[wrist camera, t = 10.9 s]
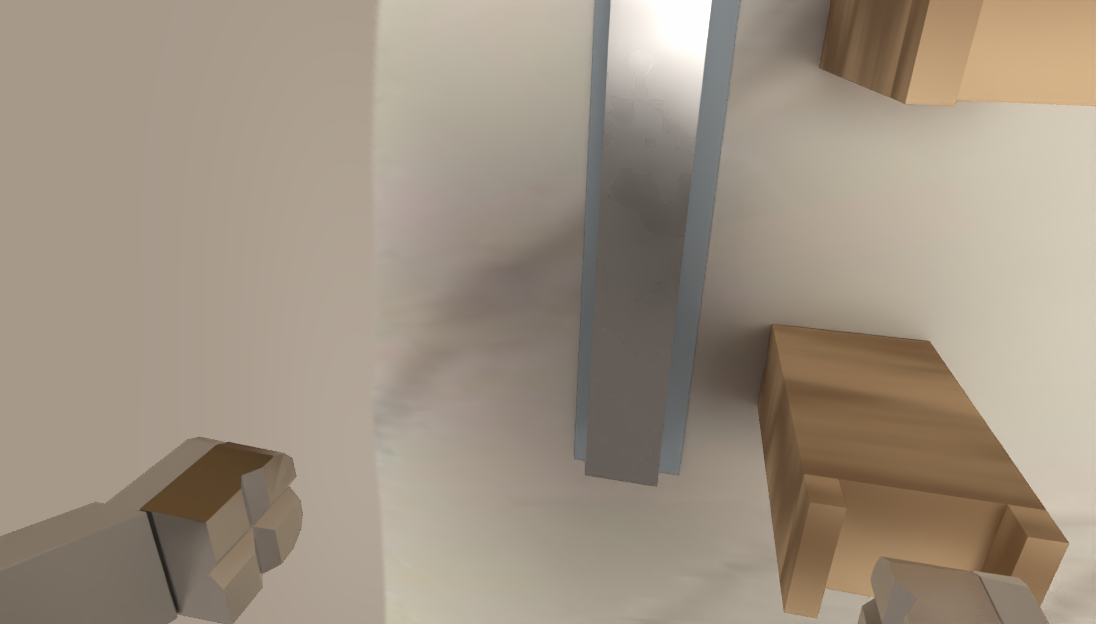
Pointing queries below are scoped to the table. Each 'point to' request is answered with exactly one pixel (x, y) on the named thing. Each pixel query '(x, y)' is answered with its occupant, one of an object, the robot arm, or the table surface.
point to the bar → (642, 227)
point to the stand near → (966, 50)
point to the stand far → (887, 470)
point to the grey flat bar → (696, 226)
